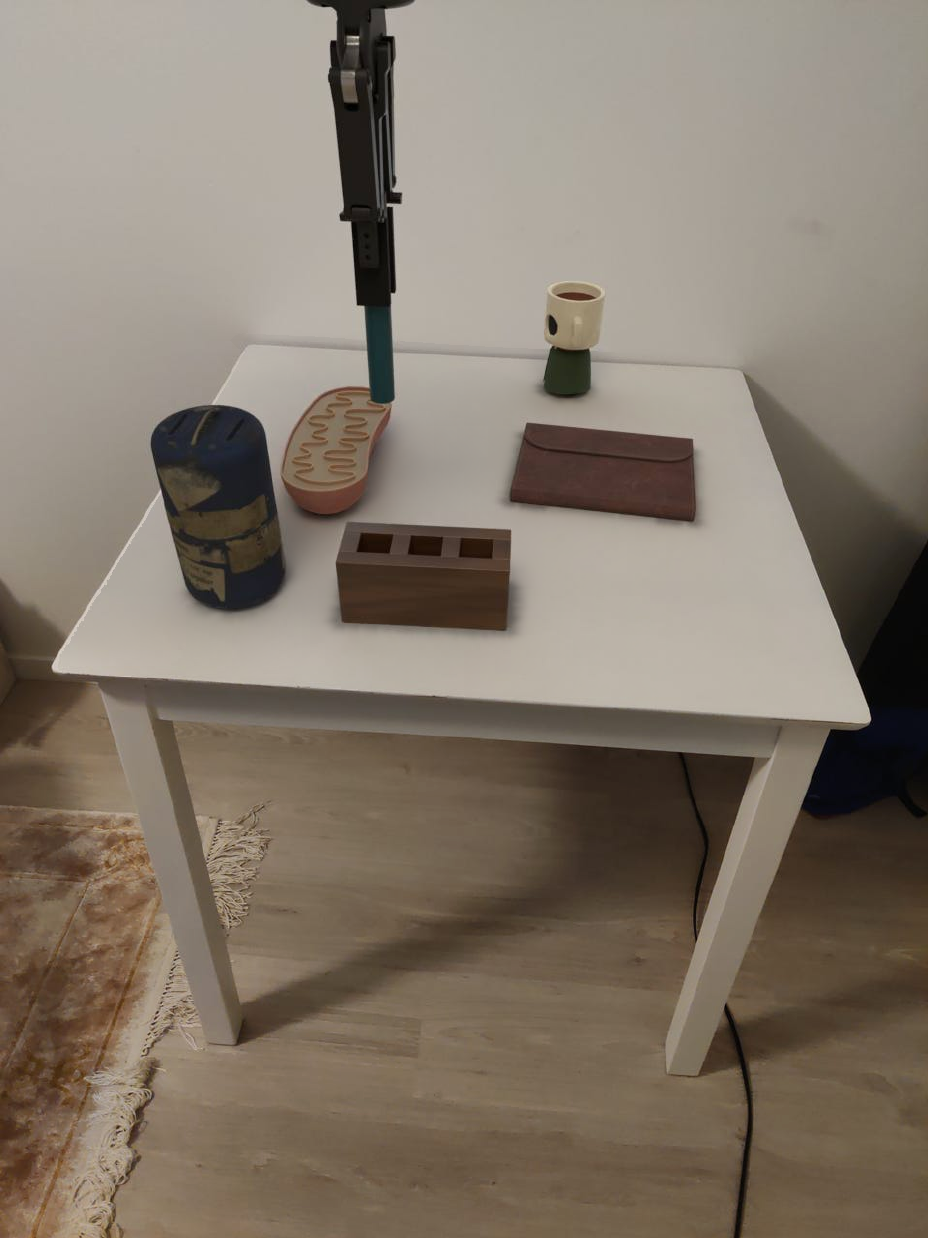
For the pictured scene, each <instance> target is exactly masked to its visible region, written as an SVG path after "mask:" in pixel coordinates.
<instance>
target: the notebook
mask: <svg viewBox="0 0 928 1238" xmlns="http://www.w3.org/2000/svg"><path fill="white" fill-rule="evenodd" d="M516 461H517V462H516V466H515V469H514V474H513V478H512V482H511V486H510V491H509V501H510V502H517V503H526V504H535V505H543V506H553V507H560V508H570V509H571V508H572V509H579V510H588V511H598V512H606V513H614V514H615V513H616V514H623V515H624V514H625V515H633V516H634V515H635V516H642V517H651V518H661V519H670V520H678V521H688V522H694V521H695V518H696V512H697V504H696V503H697V502H696V481H695V462H694V439H693V438H690V437H689V438H687V437H679V436H678V437H677V436H668V435H656V434H647V433H639V432H638V433H636V432H627V431H617V430H606V429H598V428H597V429H596V428H586V427H577V426H566V425H559V424H558V425H557V424H547V423H537V422H526V423H525V427H524V431H523V438H522V441H521V445H520V449H519V453H518V458H517V460H516Z"/></svg>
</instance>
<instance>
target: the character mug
mask: <svg viewBox="0 0 928 1238" xmlns="http://www.w3.org/2000/svg"><path fill="white" fill-rule="evenodd" d="M546 293H547V294H546V306H545V316H544V331H543V337H544V340H545V342H546V343H548V344H549V345H552V346H551V347H550V349H549V352H548V357H547V361H546V364H545V369H544V375H543V380H542V383H543V388H544V389H546V390H547V391H548V392H550V393H552V394H556V395H572V394H573V395H574V394H581V393H585V392H588V391H589V389H591V387H592V356H591V350H590V349H592V348H594V347H595V346H596V345H598V344H599V340H600V336H601V329H602V322H603V315H604V314H603V313H604V305H605V297H606V291H605V290H604V288H602V287H601V286H599V285H597V284H595V283H591V282H588V281H581V280H579V281H578V280H565V281H560V282H556V283H554V284H551V285H549V286H548V288H547V292H546Z"/></svg>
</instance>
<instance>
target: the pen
mask: <svg viewBox="0 0 928 1238" xmlns="http://www.w3.org/2000/svg"><path fill="white" fill-rule="evenodd" d="M387 207H388V204H387V200H386V191H385V190H384V211H385V218H387ZM363 307H364V308H363V310H364V325H365V338H366V357H367V369H368V370H367V372H368V385H369V386H368V387H369V388H370V399H371V401H372V402H374V403H378V404H387V403H390V402H391V403H392V402H393V401H395V399H396V389H395V387H396V386H395V365H394V341H393V320H392V319H393V317H392V305H391V306H390V307H376V306H363Z"/></svg>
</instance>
